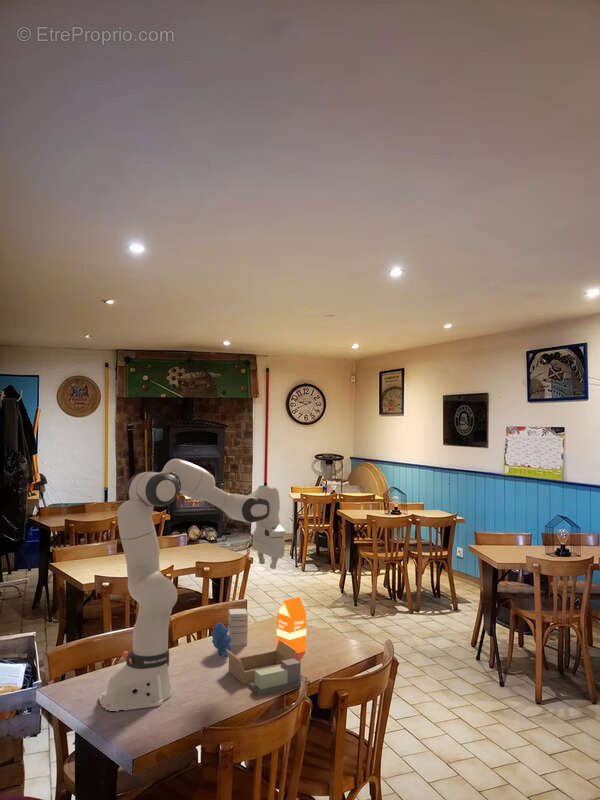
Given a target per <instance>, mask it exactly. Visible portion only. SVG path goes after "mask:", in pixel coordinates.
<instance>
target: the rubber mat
mask: <svg viewBox="0 0 600 800" xmlns="http://www.w3.org/2000/svg"><path fill="white" fill-rule="evenodd" d="M303 677H304V676H303V675H302V674H301V673H300V681H297V682H292V683H288V684H283V685H279V686H274V687H270V688H265V689H259V688H258V687H257V686H256V685H255V682H252V683H248V687H249V688H250V689H251V690H252V691H254V692H255V693H256V694H257V695H258V696H263V695H268V694H272V693H277V692H280V691H285V690H290V689H294V688H298V687H299V688H300V687H301V686H300V685H301V681H302V678H303ZM308 683H309V684H308V685H311V681H310V680H309V679H308Z"/></svg>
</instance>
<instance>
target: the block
mask: <svg viewBox="0 0 600 800" xmlns="http://www.w3.org/2000/svg"><path fill="white" fill-rule="evenodd" d="M300 674H301V662H300V661H299V660H297V659H296V658H293V659H288V660H283V661H281V666H276V667H271V668H266V669H261V670H256V671H255V685H256V686H257V687H258V688H259V689H265V688H270V687H274V686H279V685H283V684H288V683H292V682H297V681H300Z"/></svg>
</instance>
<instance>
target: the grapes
mask: <svg viewBox="0 0 600 800" xmlns="http://www.w3.org/2000/svg"><path fill="white" fill-rule="evenodd" d="M212 628H213V629H212V630H213V632H212V634H211V637H212V639H211V643H212V644H213V647H214V648H215V649H216V650H217V654H218V655H219V656H223V657H228V655H227V652H226V649H228V650H229V651H230V652H231V650H232V647H233V646H231V645H230V644H229V643H230V642H231V637H230V636H229V635H228V627H226V626H225V625H224V624H223V623H222V622H220V621H219V622H218V623H216V624H214V625H213V627H212Z"/></svg>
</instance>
